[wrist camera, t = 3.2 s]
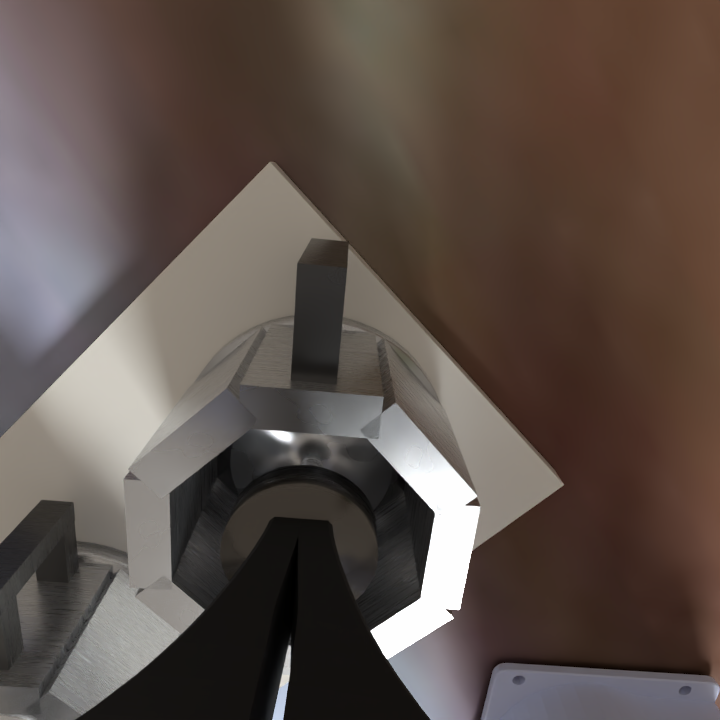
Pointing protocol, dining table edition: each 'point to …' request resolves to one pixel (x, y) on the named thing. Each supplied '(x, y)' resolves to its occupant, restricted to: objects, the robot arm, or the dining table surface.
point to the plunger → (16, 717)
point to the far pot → (68, 619)
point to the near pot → (314, 416)
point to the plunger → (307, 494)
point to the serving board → (197, 347)
